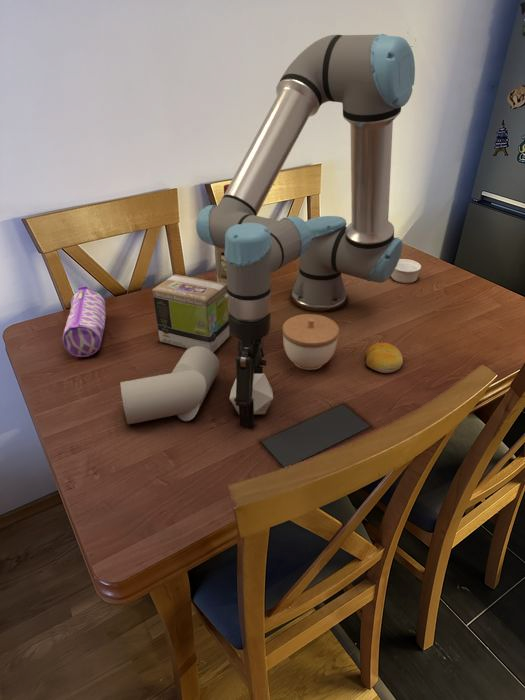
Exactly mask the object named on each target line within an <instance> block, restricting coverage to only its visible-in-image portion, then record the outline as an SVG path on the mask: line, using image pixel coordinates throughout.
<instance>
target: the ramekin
mask: <svg viewBox="0 0 525 700" xmlns="http://www.w3.org/2000/svg"><path fill="white" fill-rule="evenodd" d="M421 269H422V265H421V264H420V262H418V261H415V260H413V259H408V258H407V259H406V258H400V259H399V261H398V264H397V266H396V268H395V270H394V271H393V273H392V275H391V276H390V277H391V279H392V280H394V281H395V282H398V283H401V284H410V283H414V282H416V281H418V278H419V274H420V271H421Z"/></svg>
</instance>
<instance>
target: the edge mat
mask: <svg viewBox="0 0 525 700" xmlns="http://www.w3.org/2000/svg"><path fill="white" fill-rule="evenodd" d="M370 428H371V427H370V425H369V424H367V422H365V421H364V420H363V419H361V418H360V417H359V416H358V415H357V414H356V413H355V412H353V411H352V410H351V409H350V408H348V407H347V406H346V405H345V404H340V405H338V406H336V407H333V408H332V409H329V410H327V411H325V412H323V413H320V414H319V415H316V416H314V417H312V418H310V419H307V420H305V421H303V422H301V423H298V424H296V425H294V426H292V427H290V428H287V429H286V430H283V431H281V432H278V433H277V434H275V435H272V436H270V437H268V438H265V439H263V440H262V441H260V442H261V444H262V445H263V447H265V448H266V449H267V451H269V453H270V454H271V455H272V456H273V457H274V459H275V460H276V461H277V462H278V463H279V464H280V465H281V467H282V468H284V467H286V466H289V465H292V464H295V463H297V464H299V463H300V461H301V462H303V461H305V460H308V459H309V458H311V457H313V456H315V455H317V454H319V453H321V452H323V451H326V450H328V449H329V448H331V447H333V446H335V445H337V444H339V443H341V442H343V441H345V440H347V439H349V438H351V437H354V436H356V435H357V434H360V433H361V432H363V431H365V430H367V429H370ZM298 462H299V463H298ZM295 465H296V464H295Z"/></svg>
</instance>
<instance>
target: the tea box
mask: <svg viewBox="0 0 525 700" xmlns="http://www.w3.org/2000/svg"><path fill="white" fill-rule="evenodd" d="M151 292H152V298H153V305H154V312H155V318H156V325H157V326H156V327H157V332H158V338H159V342H161V343H165V344H168V345H172V346H176V347H179V348H184V349H186V350H187V349H189V348H191V347H195V346H199V347H204V348H206V349H208V350H210V351H211V352H213V353H214V352H216V351H217V350H218V348H220V347H221V345H222V344H224V342H225V341H226V340H227V339H228V338H229V337H230V331H229V310H228V299H225V294H227V285H226V284H224V283H219V282H217V281H213V280H207V279H203V278H197V277H192V276H187V275H180V274H177V273H173V275H171V276H170V277H168V278H167V279H166V280H164V281H162V282H161V283H160V284H158V285H156V286H154V287H153V288H152V289H151Z"/></svg>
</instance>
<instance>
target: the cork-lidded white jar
mask: <svg viewBox="0 0 525 700" xmlns="http://www.w3.org/2000/svg"><path fill="white" fill-rule="evenodd" d="M339 334H340V328H339V325H338V324H337V323H336V321H334V320H333V319H332V318H329V317H327V316H324V315H320V314H314V313H304V314H303V313H302V314H297V315H293V316H291V317H289V318H288V319H287V320H286V321H284V323H283V325H282V343H283V348H284V351H285V355H286V356H287V358H288V360H290V361H291V362H292V363H293V364H294V365H295V366H296V367H297V368H299V369H302V370H306V371H307V370H308V371H313V370H318V369H320V368H321V367H323V366H324V365H326V364H327V363H328V362H329V361H330V360H331V359H332V358H333V356H334V354H335V352H336V349H337V345H338V340H339Z"/></svg>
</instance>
